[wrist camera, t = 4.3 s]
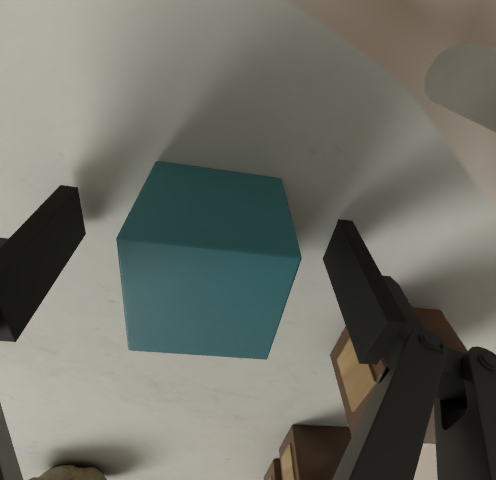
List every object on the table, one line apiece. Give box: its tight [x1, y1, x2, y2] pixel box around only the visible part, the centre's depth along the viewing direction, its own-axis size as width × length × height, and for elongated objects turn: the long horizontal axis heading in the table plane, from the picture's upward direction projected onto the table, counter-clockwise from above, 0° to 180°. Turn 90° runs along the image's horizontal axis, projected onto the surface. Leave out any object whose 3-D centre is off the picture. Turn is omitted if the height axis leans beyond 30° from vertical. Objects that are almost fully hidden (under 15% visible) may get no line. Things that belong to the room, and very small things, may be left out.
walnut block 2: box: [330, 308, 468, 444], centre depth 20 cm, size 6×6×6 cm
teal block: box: [117, 162, 302, 359], centre depth 14 cm, size 6×6×6 cm
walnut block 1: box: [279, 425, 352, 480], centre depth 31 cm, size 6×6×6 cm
